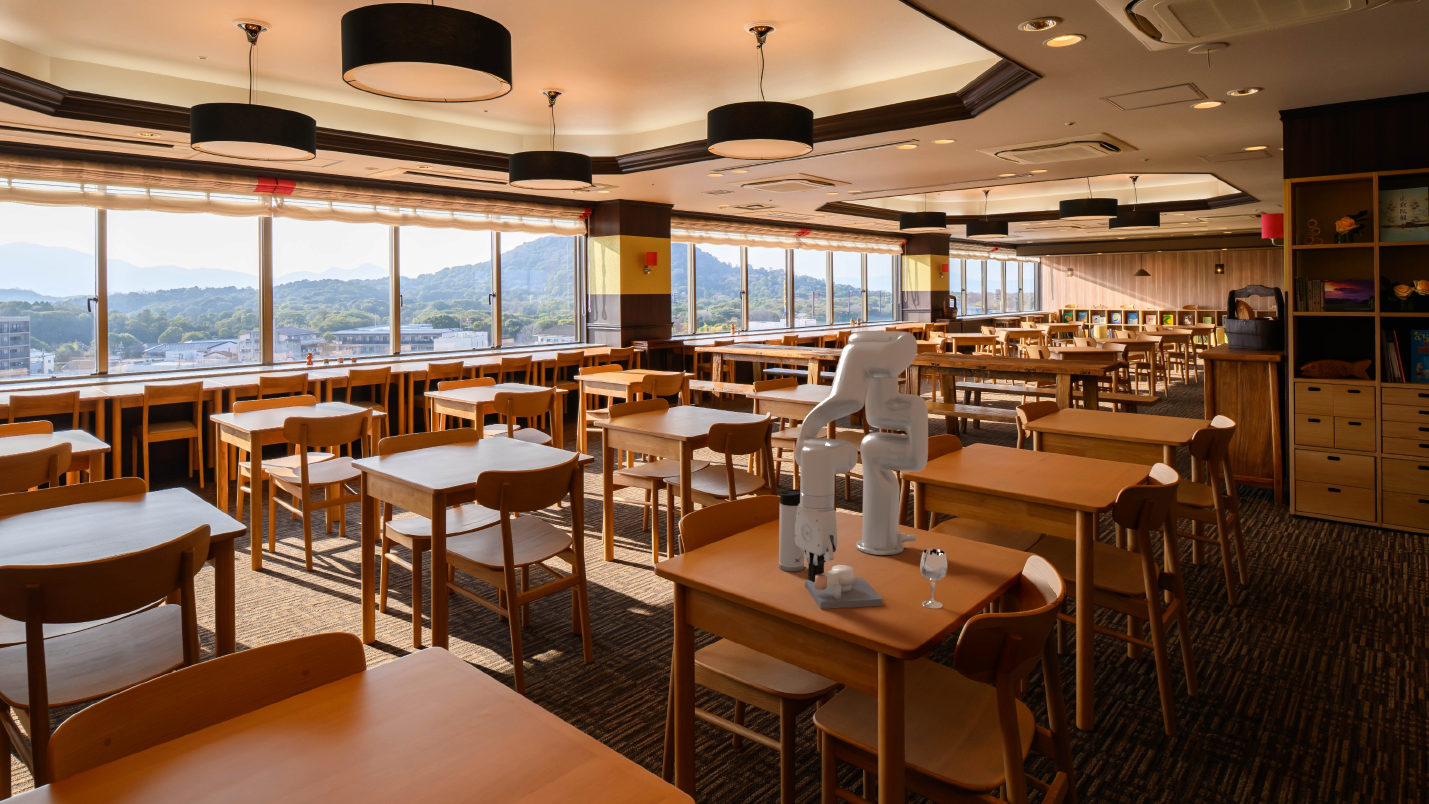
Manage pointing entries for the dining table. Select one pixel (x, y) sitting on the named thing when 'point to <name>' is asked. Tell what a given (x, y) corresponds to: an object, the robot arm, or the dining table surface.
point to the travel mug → (789, 532)
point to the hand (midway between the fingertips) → (816, 579)
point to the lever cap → (835, 577)
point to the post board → (845, 595)
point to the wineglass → (933, 571)
